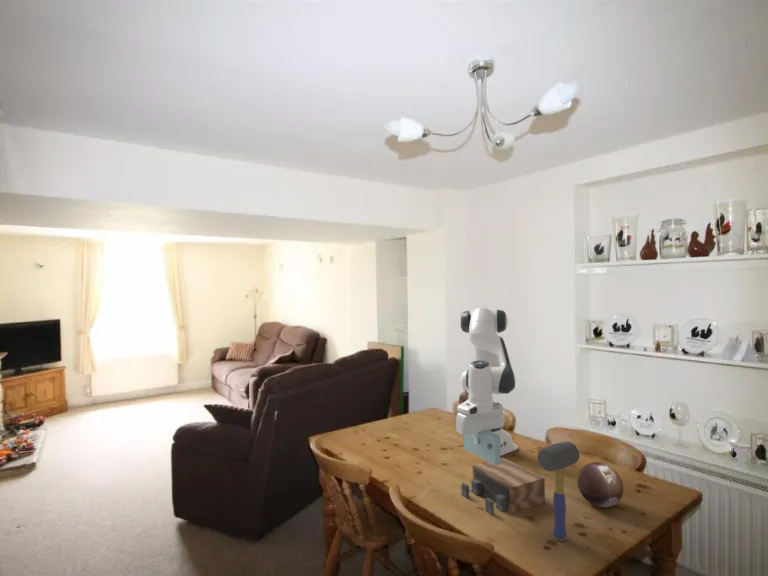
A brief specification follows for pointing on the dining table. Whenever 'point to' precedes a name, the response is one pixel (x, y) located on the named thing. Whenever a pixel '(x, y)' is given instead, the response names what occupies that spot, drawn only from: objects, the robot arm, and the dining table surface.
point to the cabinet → (506, 486)
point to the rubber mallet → (558, 479)
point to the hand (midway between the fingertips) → (481, 442)
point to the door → (484, 446)
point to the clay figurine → (463, 397)
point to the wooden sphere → (600, 484)
